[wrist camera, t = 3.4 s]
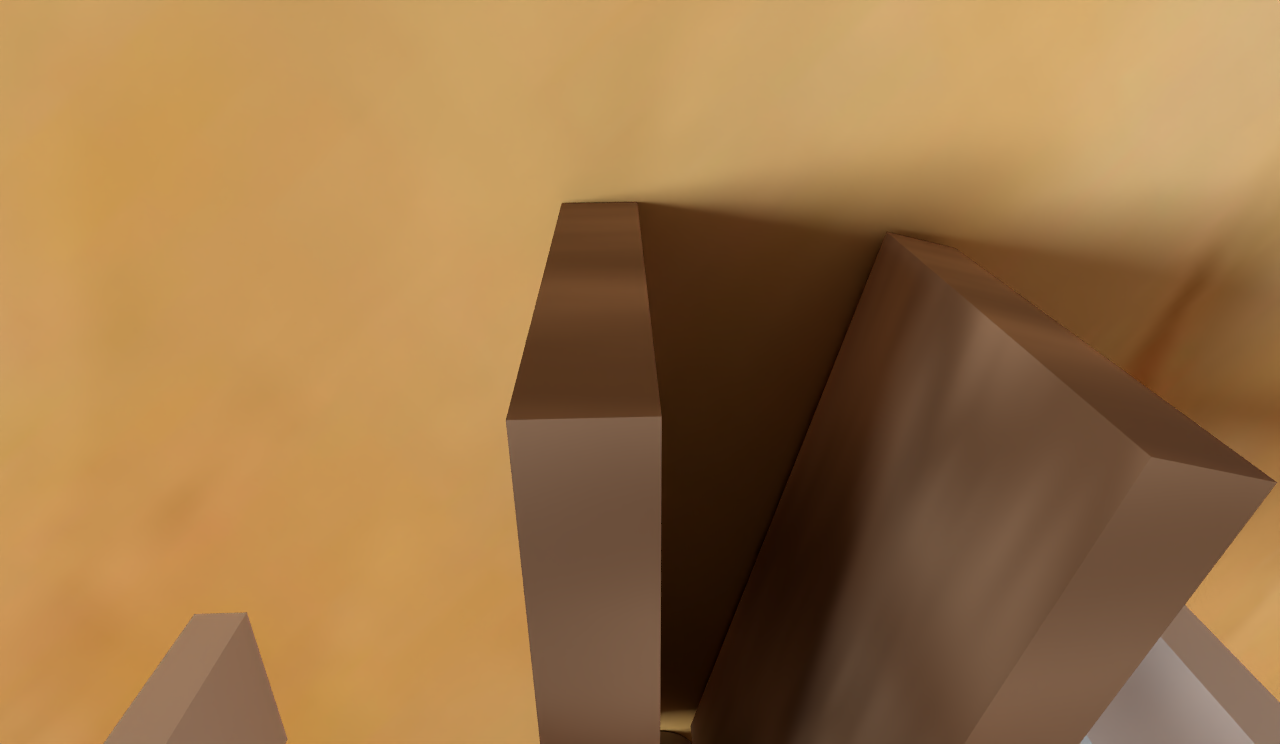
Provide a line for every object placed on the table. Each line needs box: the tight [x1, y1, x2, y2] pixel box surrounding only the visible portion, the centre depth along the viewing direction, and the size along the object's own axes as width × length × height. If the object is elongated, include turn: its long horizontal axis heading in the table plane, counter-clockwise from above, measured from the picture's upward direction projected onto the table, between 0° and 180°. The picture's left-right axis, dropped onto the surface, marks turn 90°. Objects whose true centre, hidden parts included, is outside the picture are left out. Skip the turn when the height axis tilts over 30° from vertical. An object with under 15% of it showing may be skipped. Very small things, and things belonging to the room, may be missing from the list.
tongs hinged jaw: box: [691, 232, 1277, 744], centre depth 16 cm, size 19×2×9 cm, turn 167°
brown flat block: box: [506, 202, 692, 744], centre depth 16 cm, size 19×4×9 cm, turn 1°
